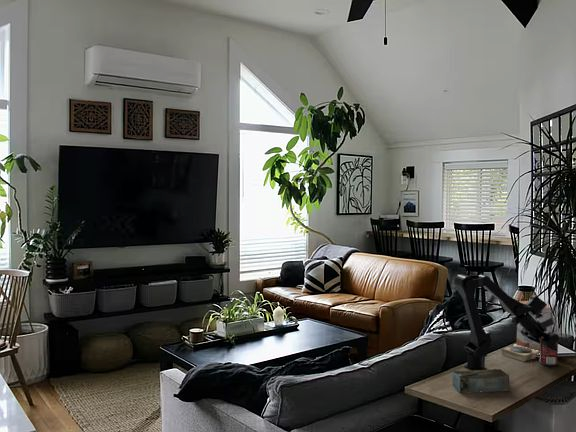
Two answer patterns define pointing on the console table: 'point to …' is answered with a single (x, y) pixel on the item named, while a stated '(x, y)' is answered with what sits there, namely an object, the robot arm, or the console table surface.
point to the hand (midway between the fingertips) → (551, 348)
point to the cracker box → (524, 340)
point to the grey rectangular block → (481, 380)
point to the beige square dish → (520, 352)
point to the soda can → (548, 355)
